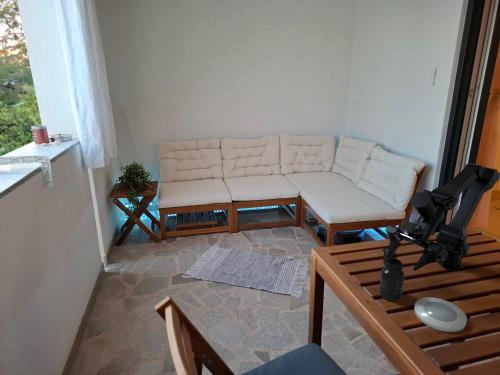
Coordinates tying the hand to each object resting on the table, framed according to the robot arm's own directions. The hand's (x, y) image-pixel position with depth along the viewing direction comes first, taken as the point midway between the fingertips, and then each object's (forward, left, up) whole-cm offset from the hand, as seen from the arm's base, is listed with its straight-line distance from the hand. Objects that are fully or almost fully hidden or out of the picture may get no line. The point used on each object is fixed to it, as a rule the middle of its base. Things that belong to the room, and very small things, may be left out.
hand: (400, 263), depth 102 cm
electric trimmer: (-7, -19, -11) cm, 23 cm away
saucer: (-6, +12, -10) cm, 17 cm away
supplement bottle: (+3, +1, -11) cm, 11 cm away
